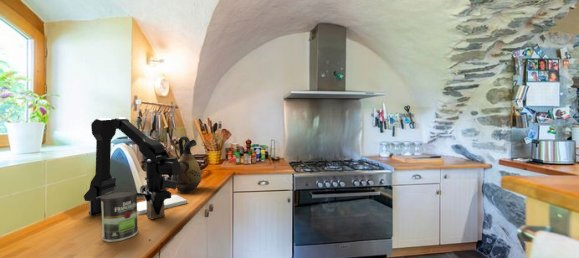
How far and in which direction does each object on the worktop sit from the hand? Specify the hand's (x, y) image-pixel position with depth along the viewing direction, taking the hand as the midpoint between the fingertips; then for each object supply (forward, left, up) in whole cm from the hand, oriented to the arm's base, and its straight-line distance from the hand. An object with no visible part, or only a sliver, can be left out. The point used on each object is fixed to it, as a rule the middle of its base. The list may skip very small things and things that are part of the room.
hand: (155, 212), depth 105 cm
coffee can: (-14, -9, -2) cm, 17 cm away
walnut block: (0, 0, -1) cm, 1 cm away
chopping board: (+6, +14, -2) cm, 15 cm away
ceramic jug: (+25, +29, -2) cm, 39 cm away
